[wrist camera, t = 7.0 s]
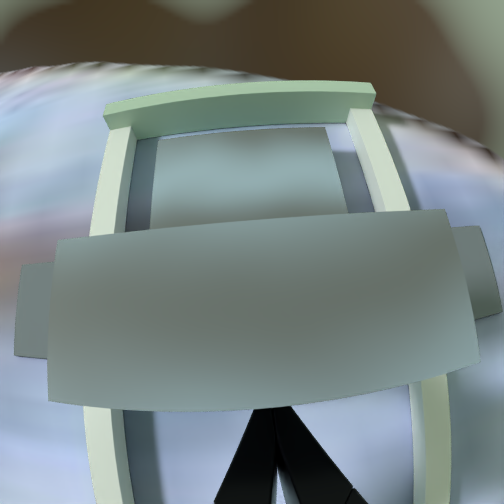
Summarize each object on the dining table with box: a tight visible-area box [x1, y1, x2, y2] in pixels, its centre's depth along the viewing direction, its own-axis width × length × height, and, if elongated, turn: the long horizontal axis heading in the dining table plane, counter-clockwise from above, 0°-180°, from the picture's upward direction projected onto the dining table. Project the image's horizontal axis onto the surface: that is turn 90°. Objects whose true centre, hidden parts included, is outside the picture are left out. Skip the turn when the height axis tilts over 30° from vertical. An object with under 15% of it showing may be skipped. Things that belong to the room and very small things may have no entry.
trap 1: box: [451, 226, 503, 320], centre depth 16 cm, size 6×6×1 cm
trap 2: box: [14, 262, 54, 359], centre depth 16 cm, size 6×6×1 cm
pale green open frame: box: [83, 81, 451, 504], centre depth 14 cm, size 30×18×3 cm, turn 5°
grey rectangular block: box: [47, 127, 481, 412], centre depth 13 cm, size 14×10×10 cm
